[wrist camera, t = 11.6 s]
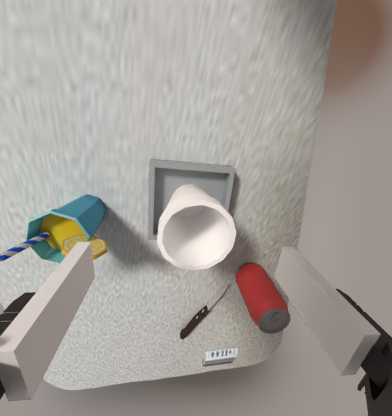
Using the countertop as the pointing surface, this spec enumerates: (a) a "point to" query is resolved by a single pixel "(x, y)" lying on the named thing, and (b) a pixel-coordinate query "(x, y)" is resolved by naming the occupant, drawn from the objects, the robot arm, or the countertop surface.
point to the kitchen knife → (201, 314)
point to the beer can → (262, 299)
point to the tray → (183, 175)
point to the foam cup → (195, 229)
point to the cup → (64, 230)
